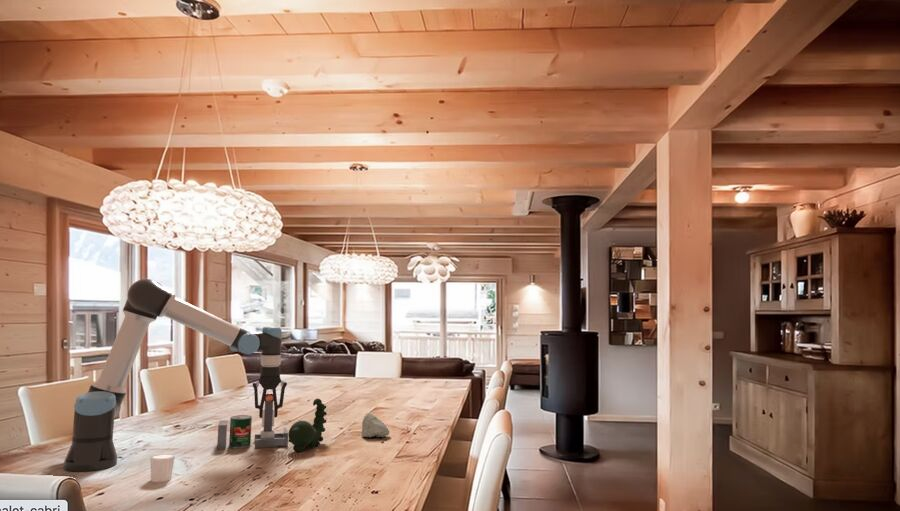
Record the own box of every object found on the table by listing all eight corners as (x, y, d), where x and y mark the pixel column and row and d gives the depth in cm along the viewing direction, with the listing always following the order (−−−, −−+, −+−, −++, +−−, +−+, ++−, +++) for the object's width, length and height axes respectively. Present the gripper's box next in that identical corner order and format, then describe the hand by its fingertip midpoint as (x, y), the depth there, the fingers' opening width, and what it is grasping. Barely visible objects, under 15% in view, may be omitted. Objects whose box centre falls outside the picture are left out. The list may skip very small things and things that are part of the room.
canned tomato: (241, 442, 230) (242, 414, 231) (254, 445, 226) (256, 416, 227) (224, 446, 224) (226, 417, 225) (238, 449, 220) (239, 419, 221)
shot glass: (167, 475, 184) (168, 452, 184) (177, 479, 179) (179, 456, 180) (144, 479, 179) (146, 456, 179) (154, 484, 174) (156, 460, 175)
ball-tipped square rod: (274, 445, 226) (276, 394, 228) (260, 445, 224) (263, 394, 226) (273, 441, 232) (275, 391, 234) (260, 441, 231) (262, 392, 233)
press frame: (287, 446, 226) (288, 422, 226) (216, 450, 217) (218, 425, 218) (285, 440, 236) (286, 417, 237) (218, 443, 227) (219, 420, 228)
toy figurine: (308, 445, 235) (278, 453, 212) (312, 397, 239) (283, 400, 215) (330, 446, 233) (301, 455, 209) (334, 398, 237) (306, 401, 213)
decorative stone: (351, 436, 244) (359, 419, 240) (363, 423, 254) (371, 406, 250) (376, 454, 242) (385, 437, 238) (388, 439, 252) (396, 423, 248)
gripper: (290, 364, 237) (288, 423, 235) (249, 365, 232) (246, 425, 230) (292, 366, 230) (289, 426, 228) (249, 367, 225) (246, 428, 223)
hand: (267, 425), depth 229 cm, fingers closed on ball-tipped square rod, 3 cm apart
